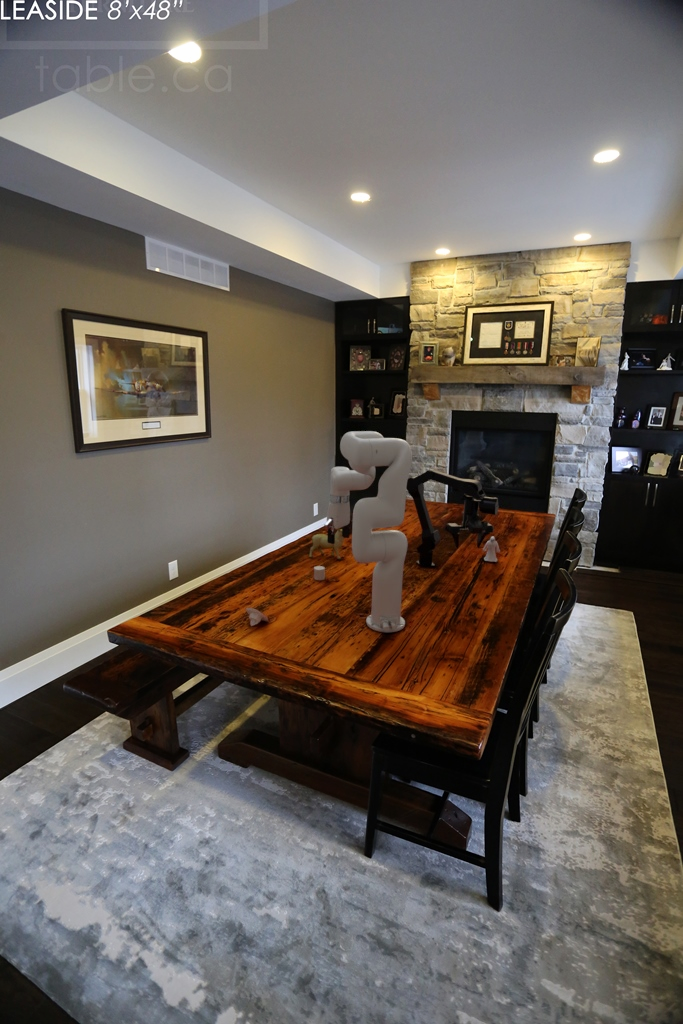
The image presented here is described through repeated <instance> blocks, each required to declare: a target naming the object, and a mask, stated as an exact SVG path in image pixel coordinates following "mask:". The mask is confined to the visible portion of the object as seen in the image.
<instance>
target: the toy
mask: <svg viewBox="0 0 683 1024" xmlns="http://www.w3.org/2000/svg"><path fill="white" fill-rule="evenodd" d="M334 534H335V544H331V543H328V542H327V539H328V534H323V533H317V534H314V535H312V537H311V541H312V546H311V547H310V550H309V554H308V557H309V558H310V559H312V558H314V557H313V552H314V550H317V551H318V552H320V555H322V556H324V555H325V552H324V551H323V549H326V550H331V553H330V556H331V557H336V558H337V560H339V561H341V560H342V557H341V556H340V549H341V548H342V546H343V544H344V541H345V537H342V528H338V529H337V530H336V531H335V533H334ZM321 548H323V549H321ZM335 554H336V555H335Z"/></svg>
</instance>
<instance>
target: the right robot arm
mask: <svg viewBox="0 0 683 1024" xmlns="http://www.w3.org/2000/svg"><path fill="white" fill-rule="evenodd" d="M428 481H434V482H436V483H440V484H443V485H446V486H449V487H452V488H454V489H457V490H458V491H459V492H461V493H462V496H461V497H460V498H459V500H460V501H464V505H463V511H462V513H461V515H462V521H461V525H458V524H457V523H455V522H454V523H450V522H449V523H446V525H445V531H446V532H448V533H449V534H451V537H452V538H453V542H454V545H455V548H456V549H459V545H460V544H459V542H460V536H461V534H460V532H461V531H469V533H470V534H472V535H475V534H476V535H477V537H476V538H477V539H476V548H477V549H478V548H480V547H481V545H482V543H483V541H484V539H485V537H486V536H488V535H490V534H491V533H494V529H495V527H494V526H493V525H492V524H491V523H489V522H488V520H480V514H479V511H480V513H481V514H485V515H493V516H497V515H498V512H499V507H500V505H499V498H498V497H489V496H487V494H486V493H485V491H484V490H483V486H482V483H481V481H479V480H477V479H471V478H460V477H457V476H455V475H451V474H448V473H445V472H441V471H439V470H436V469H435V468H429V469H427V470H426V471H425V472H423V473H421V474H419V475H414V476H411V477H408V481H407V487H406V491H407V492H408V494H409V496H411V498H412V500H413V503H414V507H415V511H416V513H417V517H418V521H419V524H420V528H421V544H420V545H419V546H418V547H416V551H417V553H418V554H419V557H418V560H416V561H415V563H416V564H418V566H419V567H421V568H426V567H436V564H435V563H434V562H433V557H434V550H435V549H436V548H437V547H438V546H439V545H440V543H441V539H442V537H441V536H440V531H439V529H435V528H434V526H433V524H432V520H431V517H430V513H429V510H428V506H427V502H426V499H425V495H424V494H425V484H426V483H427V482H428Z"/></svg>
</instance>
